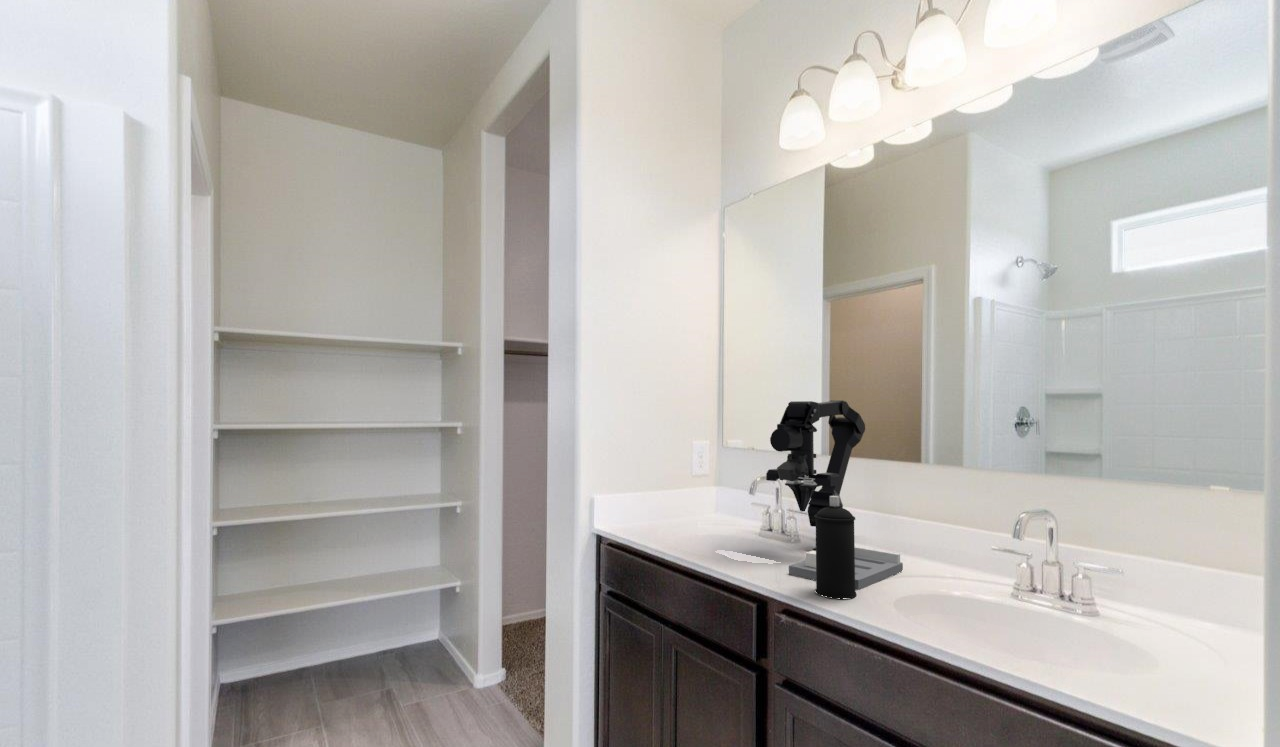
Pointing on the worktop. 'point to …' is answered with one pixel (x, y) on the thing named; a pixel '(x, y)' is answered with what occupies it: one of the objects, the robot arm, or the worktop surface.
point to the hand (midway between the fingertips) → (802, 511)
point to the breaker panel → (861, 567)
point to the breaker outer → (811, 559)
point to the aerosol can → (835, 551)
